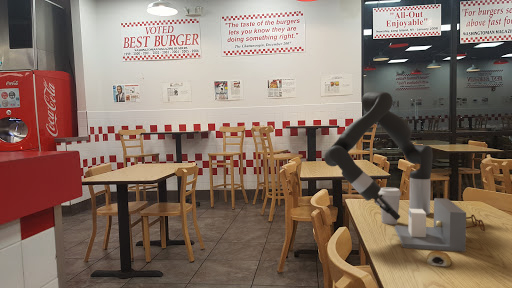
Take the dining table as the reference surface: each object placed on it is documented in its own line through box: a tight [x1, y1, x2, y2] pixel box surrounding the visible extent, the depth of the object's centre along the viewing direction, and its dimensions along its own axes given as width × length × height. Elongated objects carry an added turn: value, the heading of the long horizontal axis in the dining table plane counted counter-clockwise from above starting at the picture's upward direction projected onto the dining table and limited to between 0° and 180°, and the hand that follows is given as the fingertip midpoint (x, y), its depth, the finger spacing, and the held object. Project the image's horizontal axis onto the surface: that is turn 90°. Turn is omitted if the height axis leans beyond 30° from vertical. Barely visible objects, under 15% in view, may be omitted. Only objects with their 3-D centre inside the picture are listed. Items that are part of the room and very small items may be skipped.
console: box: [394, 197, 467, 252], centre depth 142 cm, size 24×20×14 cm
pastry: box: [426, 250, 452, 268], centre depth 119 cm, size 9×7×4 cm
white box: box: [407, 208, 427, 237], centre depth 143 cm, size 7×5×9 cm
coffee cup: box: [378, 187, 402, 225], centre depth 166 cm, size 10×10×15 cm
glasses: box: [466, 214, 486, 232], centre depth 157 cm, size 13×13×5 cm
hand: (398, 218), depth 144 cm, fingers closed
